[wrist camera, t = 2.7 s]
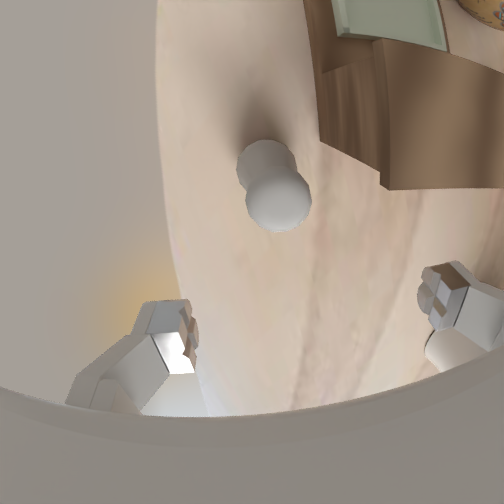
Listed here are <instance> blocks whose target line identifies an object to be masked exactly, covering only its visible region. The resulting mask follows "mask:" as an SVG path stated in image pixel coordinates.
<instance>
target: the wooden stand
mask: <svg viewBox="0 0 504 504" xmlns="http://www.w3.org/2000/svg"><path fill="white" fill-rule="evenodd" d="M303 2H304V8H305V14H306V20H307V26H308V32H309V39H310V46H311V53H312V61H313V69H314V78H315V87H316V97H317V108H318V120H319V133H320V141H321V142H323V143H325V144H327V145H329V146H331V147H333V148H335V149H337V150H339V151H341V152H343V153H345V154H347V155H349V156H351V157H353V158H355V159H357V160H359V161H361V162H363V163H364V164H366V165H368V166H370V167H372V168H374V169H375V170H377V171H379V172H380V185H382V186H383V187H385V188H386V189H388V190H389V191H390V190H412V189H445V188H504V74H503V73H500V72H498V71H496V70H493V69H491V68H489V67H486V66H484V65H481V64H478V63H476V62H473V61H470V60H467V59H465V58H462V57H459V56H455V55H452V54H450V51H449V45H448V39H447V33H446V28H445V23H444V18H443V14H442V9H441V5H440V2H439V0H437V3H438V7H439V11H440V16H441V20H442V25H443V30H444V36H445V41H446V48H447V52H442V51H439V50H435V49H431V48H427V47H423V46H419V45H415V44H410V43H406V42H401V41H395V40H390V39H384V38H381V39H379V40H376V41H375V40H367V39H359V38H348V37H338V36H337V29H336V23H335V18H334V12H333V7H332V2H331V0H303Z"/></svg>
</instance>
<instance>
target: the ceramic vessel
mask: <svg viewBox="0 0 504 504" xmlns="http://www.w3.org/2000/svg"><path fill="white" fill-rule="evenodd" d="M458 2H459V4H460V5H461V6H462V8H463V9H464V10H465V11H466V12H467V13H469V14H470V15H471V16H472V17H474V18H475V19H477V20H478V21H480V22H482V23H483V24H485V25H487V26H490V27H492V28H495V29H498V30H501V31H504V0H458Z"/></svg>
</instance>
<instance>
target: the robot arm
mask: <svg viewBox="0 0 504 504" xmlns="http://www.w3.org/2000/svg"><path fill="white" fill-rule="evenodd" d="M421 278H422V280H423V283H422V284H421V285H420V286H419V288H418V293H417V300H418V305H419V307H420V309H421V310H422V312H424V313H426V314H428V315H429V317H428V320H429V322H430V323H431V325H432V326H433V328H434V329H435V332H434V333H433V334H432V336H431V337H430V339H429V340H428V342H427V345H426V347H425V356H426V358H427V359H429V360H430V361H431V362H432V363H433V364H434V365H435V366H436V367H437V368H438V370H439V371H440V372H441V373H439V374H436V375H434V376H431V377H428V378H425V379H423V380H420V381H417V382H414V383H411V384H408V385H405V386H401V387H398V388H395V389H391V390H388V391H384V392H381V393H377V394H373V395H369V396H365V397H361V398H357V399H353V400H348V401H344V402H339V403H334V404H329V405H323V406H318V407H312V408H306V409H299V410H292V411H285V412H277V413H267V414H257V415H244V416H227V417H163V416H146V415H142V413H141V412H140V410H142V408H143V407H144V406H145V405H146V403H147V402H148V401H149V400H150V398H151V397H152V396H153V395H154V394H155V392H156V391H157V390H158V389H159V388H160V386H161V385H162V384H163V383H164V381H165V380H166V379H167V378H168V376H169V375H170V373H191V372H195V365H196V358H197V356H196V354H195V351H194V350H195V349H196V348H197V347H198V342H199V333H198V327H197V323H196V319H194V318H193V317H192V316H191V313H192V307H191V304H190V301H189V300H188V299H180V300H164V301H150V302H145V303H143V304H142V307H141V309H140V312H139V314H138V317H137V319H136V322H135V324H134V327H133V329H132V332H131V334H130V335H126V336H124V337H123V338H122V339H121V340H119V341H118V342H117V343H116V344H114V345H113V346H112V347H111V348H109V349H108V350H107V351H106V352H104V354H102V355H101V356H99V357H98V358H97V359H96V360H94V361H93V362H92V363H91V364H89V365H88V366H87V367H86V368H85V369H84V370H82V371H81V372H80V373H78V374H77V375H76V377H75V380H74V382H73V384H72V387H71V389H70V392H69V394H68V396H67V399H66V402H65V404H61V403H56V402H52V401H48V400H44V399H40V398H36V397H32V396H28V395H25V394H21V393H18V392H15V391H12V390H8V389H5V388H2V387H0V504H504V291H503V290H501V289H498V288H496V287H494V286H491V285H489V284H487V283H484V282H482V283H481V282H480V281H479V280H478V279H477V278H476V277H475V276H474V275H473V274H472V273H470V272H469V271H468V270H467V269H466V268H465V267H464V266H463V265H462V264H461V263H460V262H459V261H456V260H455V261H451V262H447V263H444V264H439V265H434V266H429V267H425V268H424V270H423V272H422V276H421Z"/></svg>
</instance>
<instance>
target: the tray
mask: <svg viewBox="0 0 504 504" xmlns="http://www.w3.org/2000/svg"><path fill="white" fill-rule="evenodd" d="M331 2H332V7H333V12H334V18H335V23H336V29H337V36H338V37H348V38H359V39H367V40H375V41H376V40H379V39H381V38H384V39H390V40H395V41H401V42H406V43H410V44H415V45H419V46H423V47H427V48H431V49H435V50H439V51H442V52H447V48H446V41H445V36H444V30H443V25H442V20H441V16H440V11H439V7H438V3H437V0H331Z"/></svg>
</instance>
